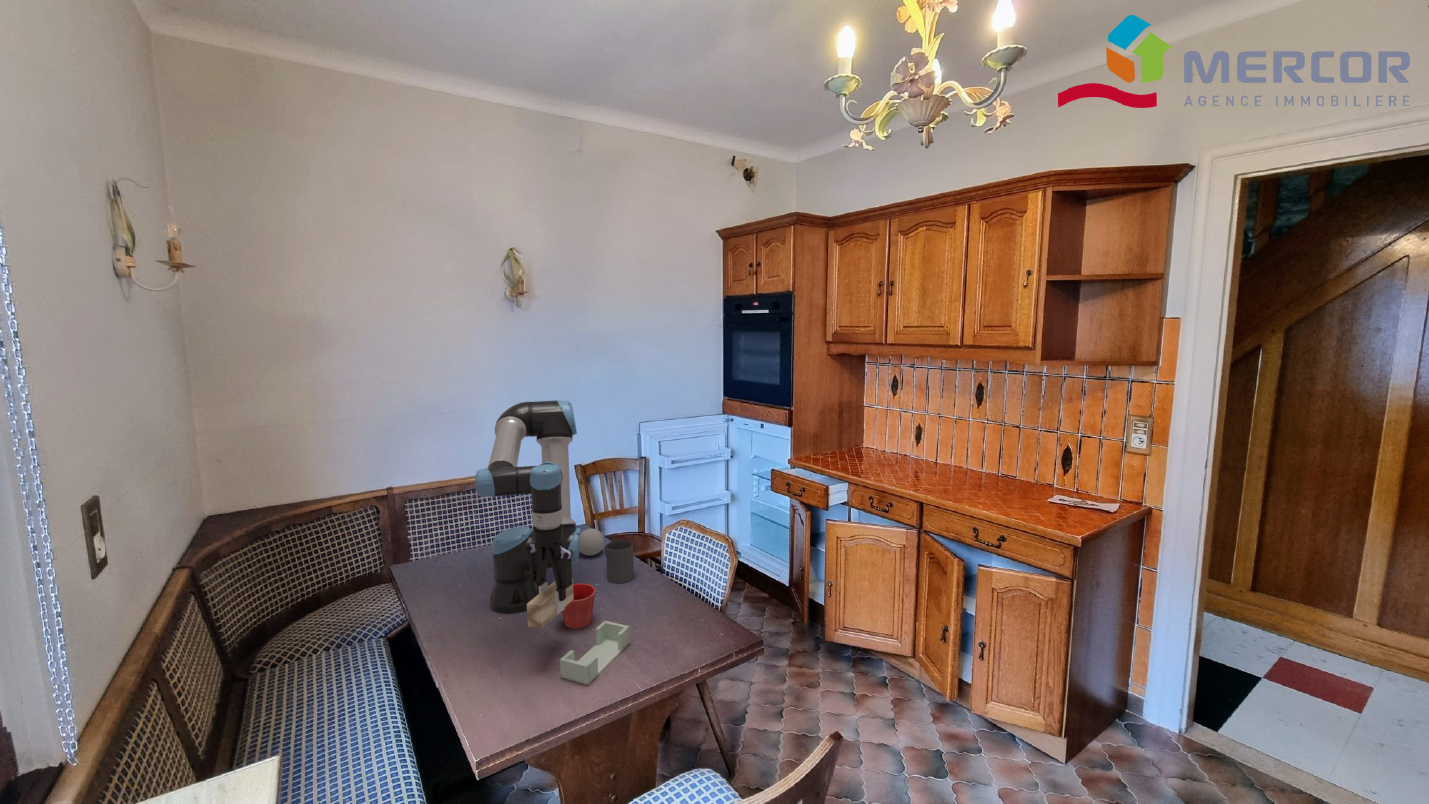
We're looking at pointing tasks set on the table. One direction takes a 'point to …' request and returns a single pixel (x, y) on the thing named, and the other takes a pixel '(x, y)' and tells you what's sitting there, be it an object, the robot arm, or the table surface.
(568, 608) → the flower pot
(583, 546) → the ball
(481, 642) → the table surface
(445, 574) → the table surface
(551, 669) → the table surface
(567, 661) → the green tray
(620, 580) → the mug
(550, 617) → the wooden block
